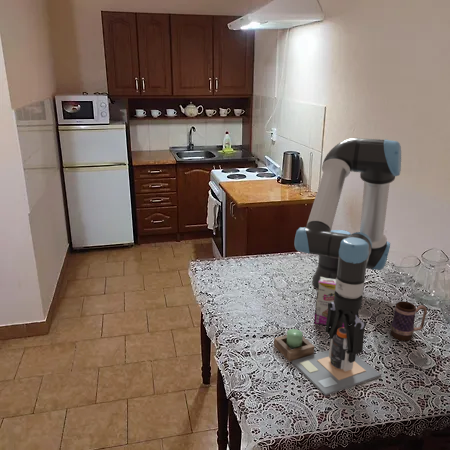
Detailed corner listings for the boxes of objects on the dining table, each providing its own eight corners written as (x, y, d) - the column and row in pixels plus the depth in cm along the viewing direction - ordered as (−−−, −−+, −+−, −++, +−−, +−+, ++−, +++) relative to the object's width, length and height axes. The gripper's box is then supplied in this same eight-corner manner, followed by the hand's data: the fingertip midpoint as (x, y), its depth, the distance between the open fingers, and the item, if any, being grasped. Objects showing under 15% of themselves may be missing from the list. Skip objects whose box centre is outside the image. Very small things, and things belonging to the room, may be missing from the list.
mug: (391, 340, 141) (396, 308, 138) (388, 329, 148) (393, 298, 144) (424, 344, 139) (430, 312, 136) (419, 333, 146) (425, 301, 142)
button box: (297, 339, 141) (297, 331, 140) (313, 354, 133) (314, 346, 132) (273, 346, 137) (274, 338, 136) (289, 361, 130) (290, 353, 129)
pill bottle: (351, 371, 124) (355, 337, 120) (330, 368, 125) (334, 334, 121) (350, 358, 129) (354, 326, 125) (329, 356, 130) (333, 323, 127)
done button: (296, 338, 138) (296, 327, 136) (304, 346, 134) (305, 335, 132) (283, 342, 136) (284, 331, 134) (291, 350, 132) (292, 339, 130)
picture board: (343, 346, 138) (344, 344, 137) (380, 376, 124) (381, 373, 124) (291, 362, 129) (292, 360, 129) (325, 395, 116) (325, 393, 115)
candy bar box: (313, 324, 150) (317, 281, 145) (315, 317, 155) (319, 276, 150) (346, 330, 147) (351, 287, 142) (347, 323, 151) (352, 281, 146)
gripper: (316, 281, 126) (310, 349, 133) (362, 311, 110) (352, 386, 117) (337, 277, 129) (329, 343, 136) (384, 305, 113) (373, 378, 120)
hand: (340, 363), depth 127 cm, fingers closed on pill bottle, 6 cm apart
